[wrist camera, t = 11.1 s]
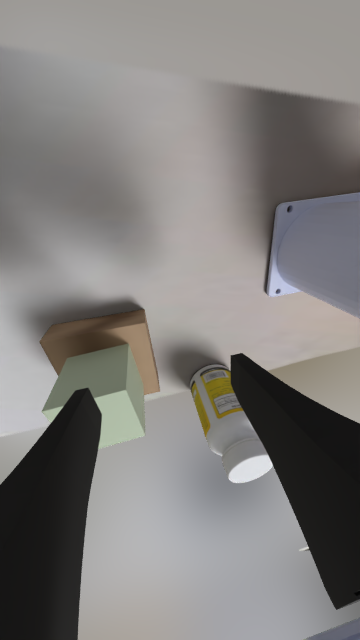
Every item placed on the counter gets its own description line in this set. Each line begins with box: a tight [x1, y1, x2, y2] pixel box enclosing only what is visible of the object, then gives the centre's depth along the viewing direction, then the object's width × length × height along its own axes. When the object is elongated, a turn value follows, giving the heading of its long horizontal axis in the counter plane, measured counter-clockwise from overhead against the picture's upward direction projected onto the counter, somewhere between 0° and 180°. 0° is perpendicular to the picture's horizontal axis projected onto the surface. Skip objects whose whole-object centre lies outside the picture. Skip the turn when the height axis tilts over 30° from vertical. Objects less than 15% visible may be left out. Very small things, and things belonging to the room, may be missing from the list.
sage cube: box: [42, 343, 145, 449], centre depth 15 cm, size 5×5×5 cm
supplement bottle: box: [190, 364, 273, 483], centre depth 20 cm, size 5×5×10 cm
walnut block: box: [40, 309, 160, 395], centre depth 19 cm, size 8×8×3 cm
